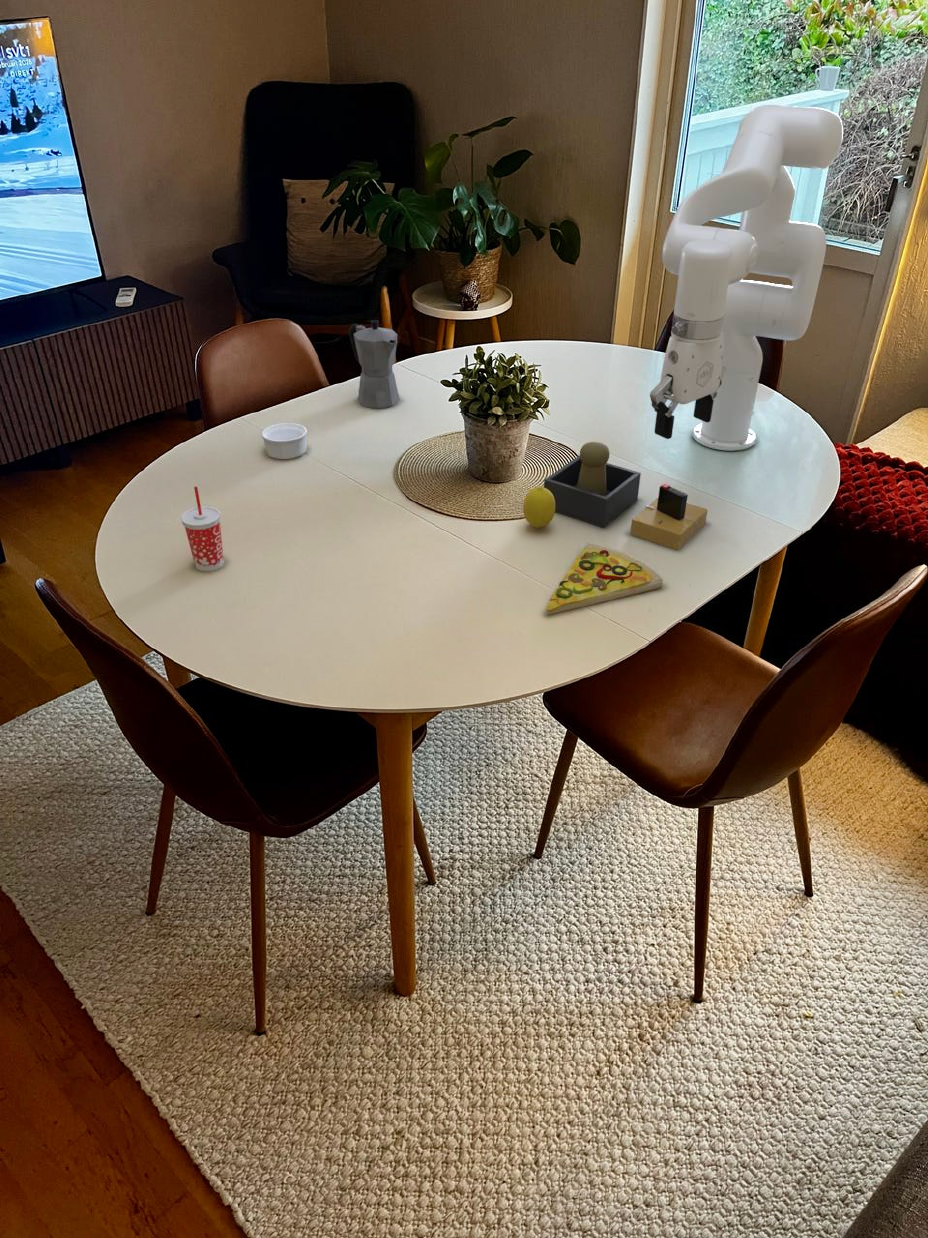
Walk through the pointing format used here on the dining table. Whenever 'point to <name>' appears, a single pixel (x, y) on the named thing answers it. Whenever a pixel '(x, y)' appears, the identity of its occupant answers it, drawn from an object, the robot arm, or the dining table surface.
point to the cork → (593, 468)
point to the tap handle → (672, 502)
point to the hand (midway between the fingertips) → (682, 427)
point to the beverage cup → (204, 536)
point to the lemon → (539, 507)
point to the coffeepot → (375, 364)
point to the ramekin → (285, 440)
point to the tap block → (668, 525)
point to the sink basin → (589, 504)
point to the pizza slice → (602, 579)
